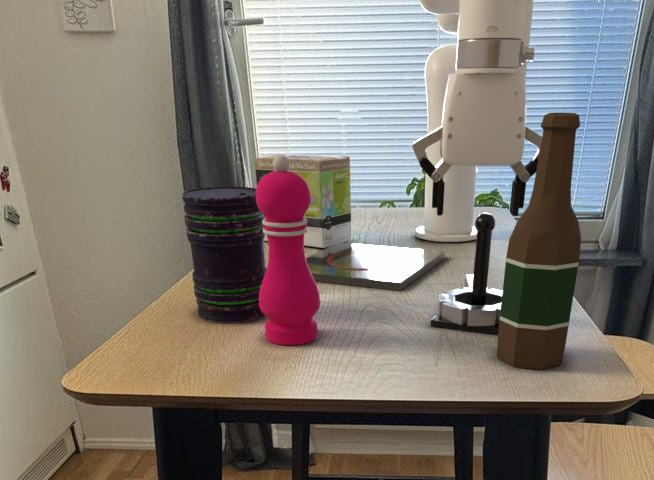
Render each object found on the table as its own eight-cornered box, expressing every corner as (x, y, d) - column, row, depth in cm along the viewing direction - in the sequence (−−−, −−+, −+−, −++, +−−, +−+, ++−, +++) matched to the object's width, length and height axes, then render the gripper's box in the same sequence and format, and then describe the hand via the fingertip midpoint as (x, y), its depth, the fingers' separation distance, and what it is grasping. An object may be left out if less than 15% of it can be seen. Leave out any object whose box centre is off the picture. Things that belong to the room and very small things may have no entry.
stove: (339, 249, 122) (339, 241, 122) (444, 258, 115) (445, 250, 115) (280, 277, 105) (280, 269, 104) (399, 290, 98) (400, 281, 98)
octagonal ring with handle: (522, 326, 81) (524, 310, 80) (439, 325, 82) (440, 309, 81) (504, 288, 96) (506, 274, 95) (435, 288, 96) (435, 274, 95)
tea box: (353, 240, 129) (352, 155, 121) (323, 250, 121) (320, 160, 114) (290, 232, 136) (286, 151, 128) (259, 241, 128) (252, 156, 121)
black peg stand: (452, 305, 92) (458, 204, 85) (521, 313, 88) (533, 209, 82) (430, 326, 84) (435, 217, 78) (504, 335, 81) (517, 222, 74)
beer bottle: (486, 347, 78) (509, 111, 65) (552, 344, 78) (586, 110, 66) (505, 372, 71) (533, 115, 59) (576, 369, 72) (619, 114, 59)
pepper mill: (312, 349, 77) (304, 158, 67) (253, 345, 79) (236, 157, 68) (327, 329, 84) (322, 151, 73) (272, 325, 85) (259, 151, 74)
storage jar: (182, 318, 88) (164, 196, 80) (222, 298, 95) (209, 185, 88) (248, 326, 84) (236, 200, 77) (284, 305, 92) (276, 188, 85)
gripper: (556, 60, 81) (538, 210, 90) (414, 61, 82) (410, 209, 91) (569, 57, 75) (548, 219, 84) (415, 59, 76) (410, 218, 85)
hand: (476, 214), depth 87 cm, fingers open, 9 cm apart
